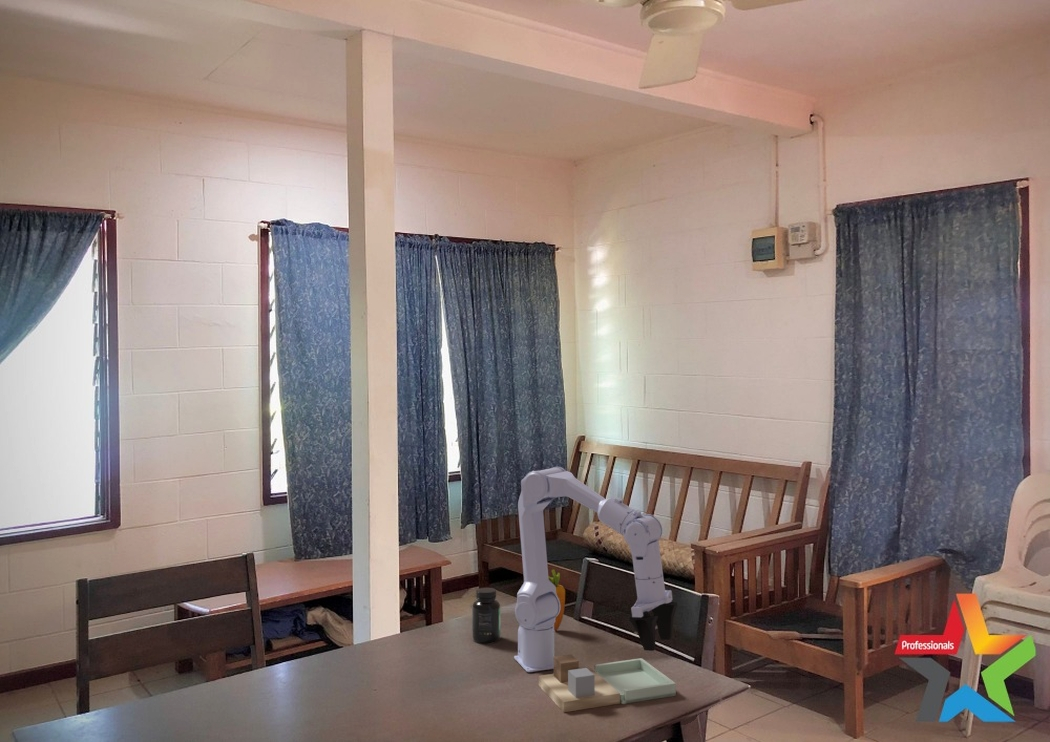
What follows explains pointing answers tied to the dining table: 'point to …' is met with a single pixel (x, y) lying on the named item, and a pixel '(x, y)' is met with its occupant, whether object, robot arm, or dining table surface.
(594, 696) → the birch plate
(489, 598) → the supplement bottle
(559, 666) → the walnut block
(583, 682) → the slate block
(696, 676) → the dining table surface
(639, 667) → the box
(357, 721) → the dining table surface
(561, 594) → the carrot
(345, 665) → the dining table surface
